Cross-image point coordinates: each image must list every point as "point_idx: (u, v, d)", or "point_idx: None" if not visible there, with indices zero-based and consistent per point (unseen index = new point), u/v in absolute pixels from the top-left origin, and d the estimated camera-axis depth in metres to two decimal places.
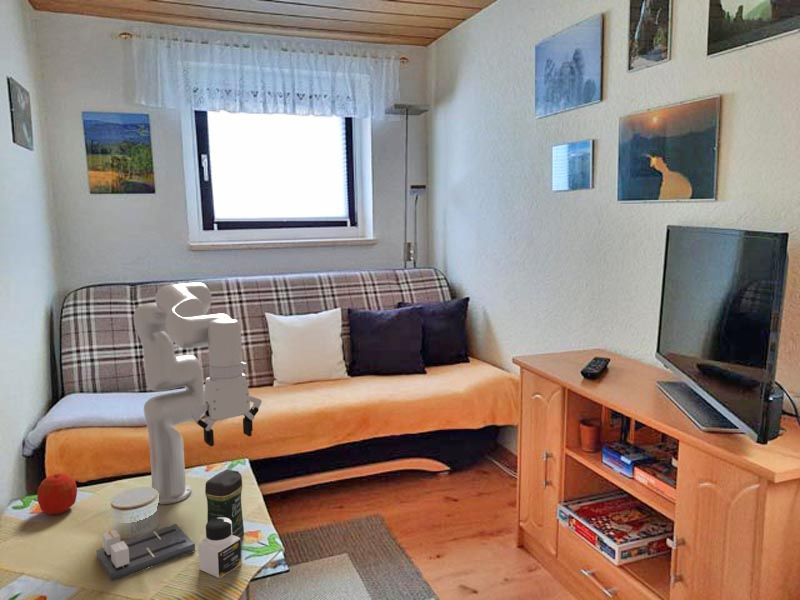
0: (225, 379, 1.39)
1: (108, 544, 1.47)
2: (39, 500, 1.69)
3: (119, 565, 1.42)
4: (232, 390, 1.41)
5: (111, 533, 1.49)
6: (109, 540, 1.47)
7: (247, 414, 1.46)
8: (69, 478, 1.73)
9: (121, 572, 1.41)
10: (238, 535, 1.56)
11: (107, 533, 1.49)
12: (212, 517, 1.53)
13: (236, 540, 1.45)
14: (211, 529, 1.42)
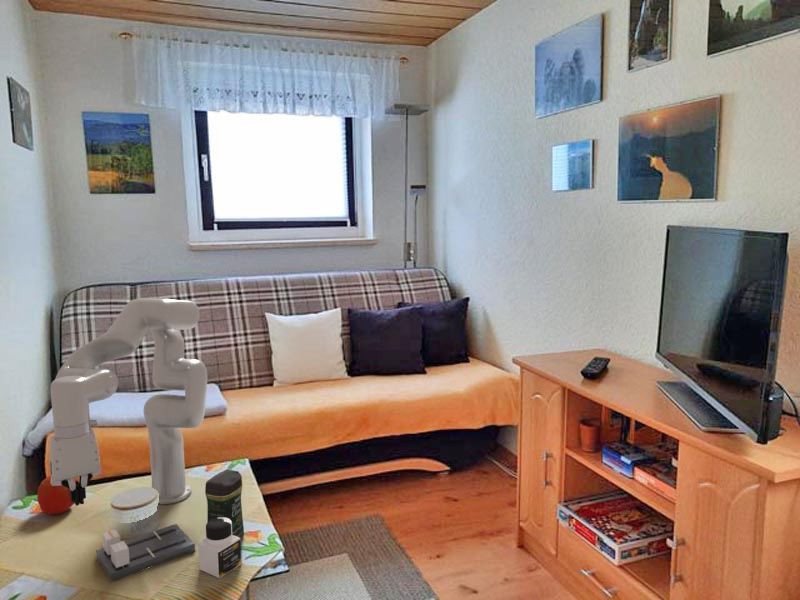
0: (68, 439, 1.37)
1: (108, 544, 1.47)
2: (39, 500, 1.69)
3: (119, 565, 1.42)
4: (77, 449, 1.39)
5: (111, 533, 1.49)
6: (109, 540, 1.47)
7: (83, 478, 1.42)
8: None
9: (121, 572, 1.41)
10: (238, 535, 1.56)
11: (107, 533, 1.49)
12: (212, 517, 1.53)
13: (236, 540, 1.45)
14: (211, 529, 1.42)
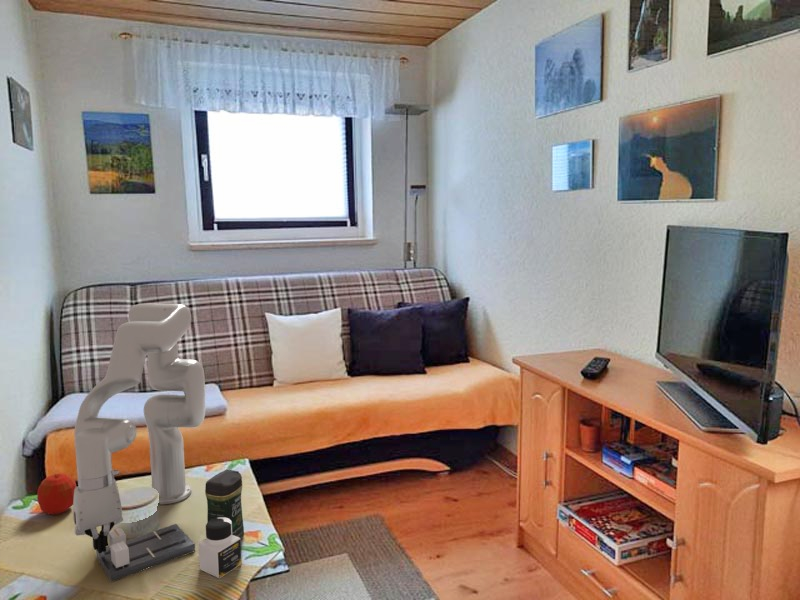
0: (91, 491, 1.41)
1: (114, 542, 1.47)
2: (39, 500, 1.69)
3: (119, 565, 1.42)
4: (100, 500, 1.44)
5: (117, 531, 1.50)
6: (115, 538, 1.48)
7: (106, 527, 1.46)
8: (69, 478, 1.73)
9: (121, 572, 1.41)
10: (238, 535, 1.56)
11: (113, 531, 1.50)
12: (212, 517, 1.53)
13: (236, 540, 1.45)
14: (211, 529, 1.42)
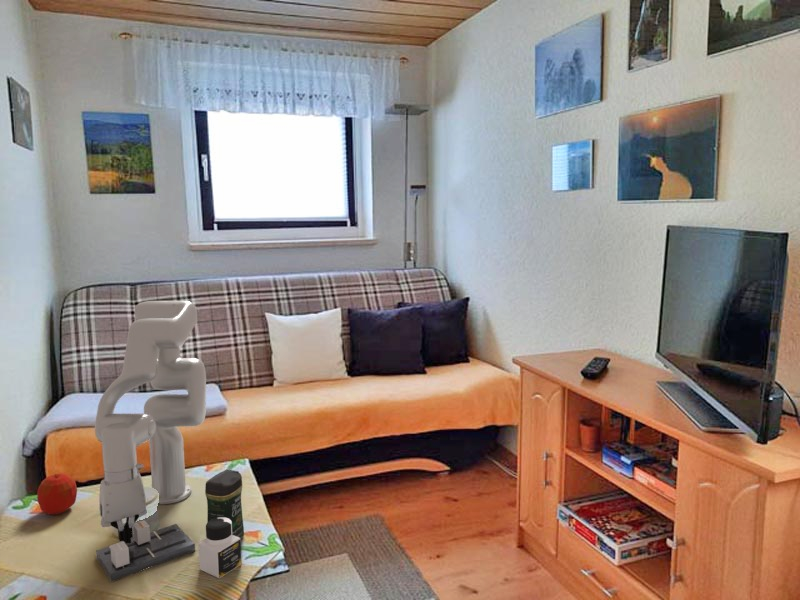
0: (117, 483, 1.45)
1: (139, 534, 1.51)
2: (39, 500, 1.69)
3: (119, 565, 1.42)
4: (126, 492, 1.48)
5: (141, 523, 1.54)
6: (140, 530, 1.51)
7: (131, 519, 1.50)
8: (69, 478, 1.73)
9: (121, 572, 1.41)
10: (238, 535, 1.56)
11: (137, 524, 1.54)
12: (212, 517, 1.53)
13: (236, 540, 1.45)
14: (211, 529, 1.42)
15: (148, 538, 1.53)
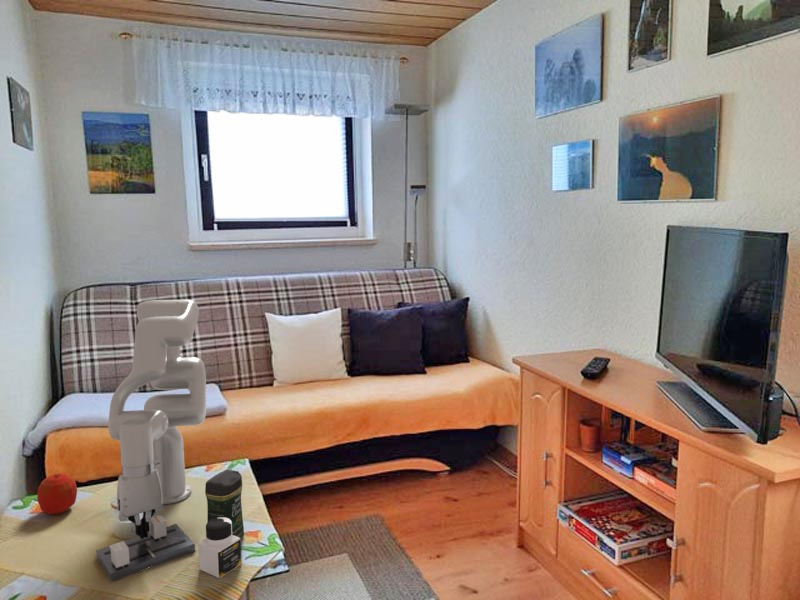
0: (135, 478, 1.48)
1: (155, 529, 1.54)
2: (39, 500, 1.69)
3: (119, 565, 1.42)
4: (143, 487, 1.50)
5: (157, 518, 1.56)
6: (156, 525, 1.54)
7: (148, 513, 1.53)
8: (69, 478, 1.73)
9: (121, 572, 1.41)
10: (238, 535, 1.56)
11: (154, 518, 1.56)
12: (212, 517, 1.53)
13: (236, 540, 1.45)
14: (211, 529, 1.42)
15: (164, 532, 1.55)
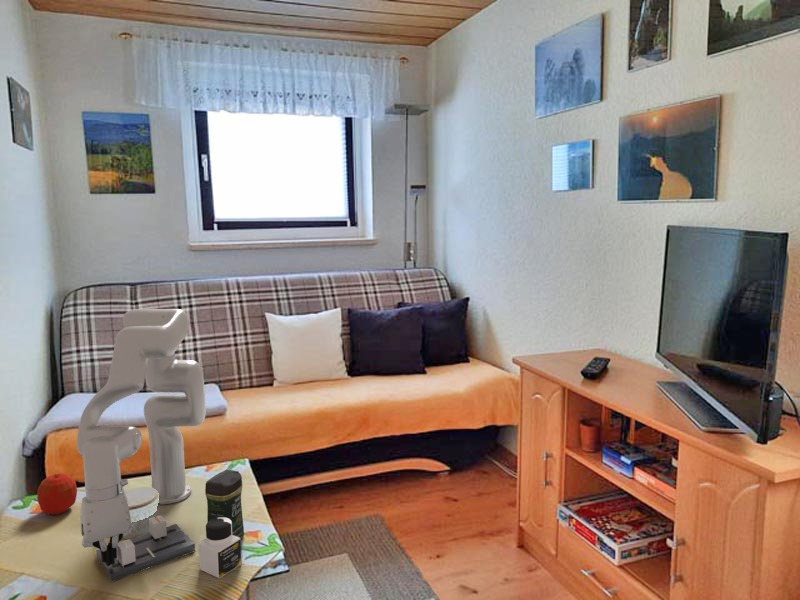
0: (100, 501, 1.36)
1: (155, 529, 1.54)
2: (39, 500, 1.69)
3: (125, 563, 1.43)
4: (109, 510, 1.39)
5: (157, 518, 1.56)
6: (156, 525, 1.54)
7: (114, 538, 1.41)
8: (69, 478, 1.73)
9: (121, 572, 1.41)
10: (238, 535, 1.56)
11: (154, 518, 1.56)
12: (212, 517, 1.53)
13: (236, 540, 1.45)
14: (211, 529, 1.42)
15: (164, 532, 1.56)
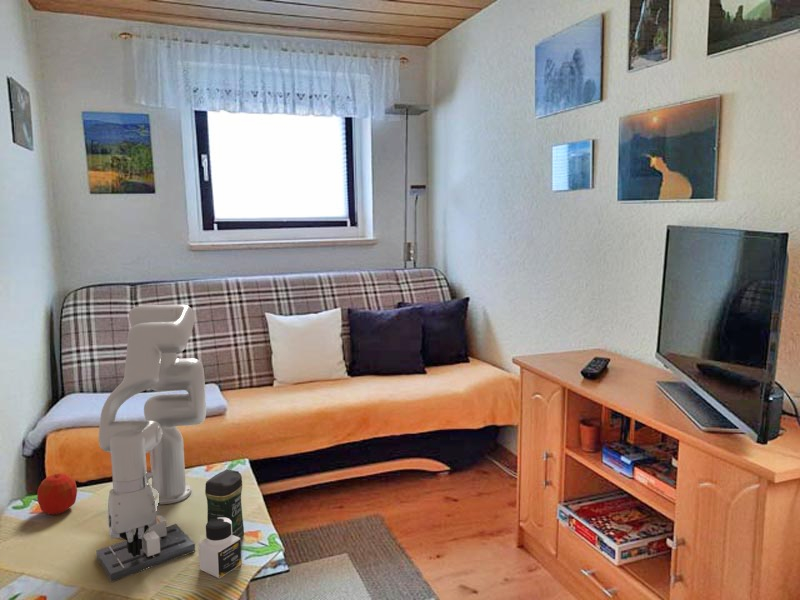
0: (127, 493, 1.40)
1: (155, 529, 1.54)
2: (39, 500, 1.69)
3: (150, 554, 1.47)
4: (135, 502, 1.42)
5: (157, 518, 1.56)
6: (156, 525, 1.54)
7: (140, 530, 1.45)
8: (69, 478, 1.73)
9: (121, 572, 1.41)
10: (238, 535, 1.56)
11: None
12: (212, 517, 1.53)
13: (236, 540, 1.45)
14: (211, 529, 1.42)
15: (164, 532, 1.56)
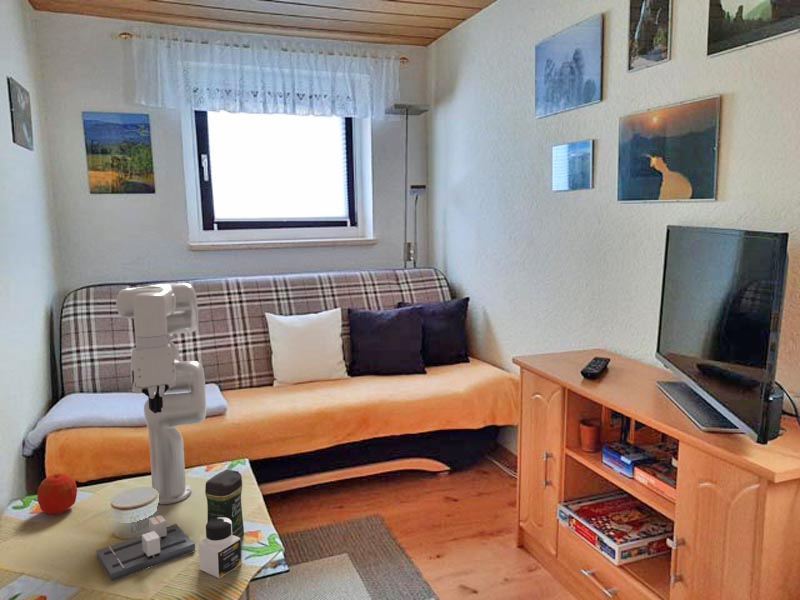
0: (149, 348, 1.48)
1: (155, 529, 1.54)
2: (39, 500, 1.69)
3: (151, 554, 1.47)
4: (157, 359, 1.50)
5: (157, 518, 1.56)
6: (156, 525, 1.54)
7: (161, 388, 1.52)
8: (69, 478, 1.73)
9: (121, 572, 1.41)
10: (238, 535, 1.56)
11: (154, 518, 1.56)
12: (212, 517, 1.53)
13: (236, 540, 1.45)
14: (211, 529, 1.42)
15: (164, 532, 1.56)
